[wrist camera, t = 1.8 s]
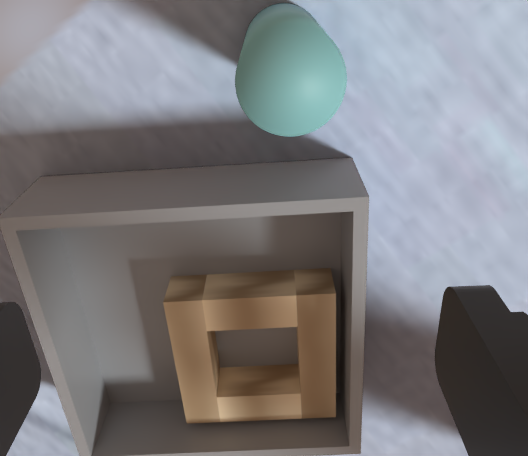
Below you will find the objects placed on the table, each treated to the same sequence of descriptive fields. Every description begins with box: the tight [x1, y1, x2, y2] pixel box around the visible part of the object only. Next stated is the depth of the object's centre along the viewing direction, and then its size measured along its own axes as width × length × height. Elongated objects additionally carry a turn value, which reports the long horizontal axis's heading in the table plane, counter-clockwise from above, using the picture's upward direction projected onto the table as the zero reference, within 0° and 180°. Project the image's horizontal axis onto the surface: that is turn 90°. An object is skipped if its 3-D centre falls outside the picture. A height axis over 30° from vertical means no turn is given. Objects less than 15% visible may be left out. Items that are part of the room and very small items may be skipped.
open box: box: [0, 158, 369, 456], centre depth 34 cm, size 20×20×6 cm
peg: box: [235, 3, 347, 137], centre depth 24 cm, size 4×4×10 cm
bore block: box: [163, 268, 336, 424], centre depth 36 cm, size 11×11×3 cm
